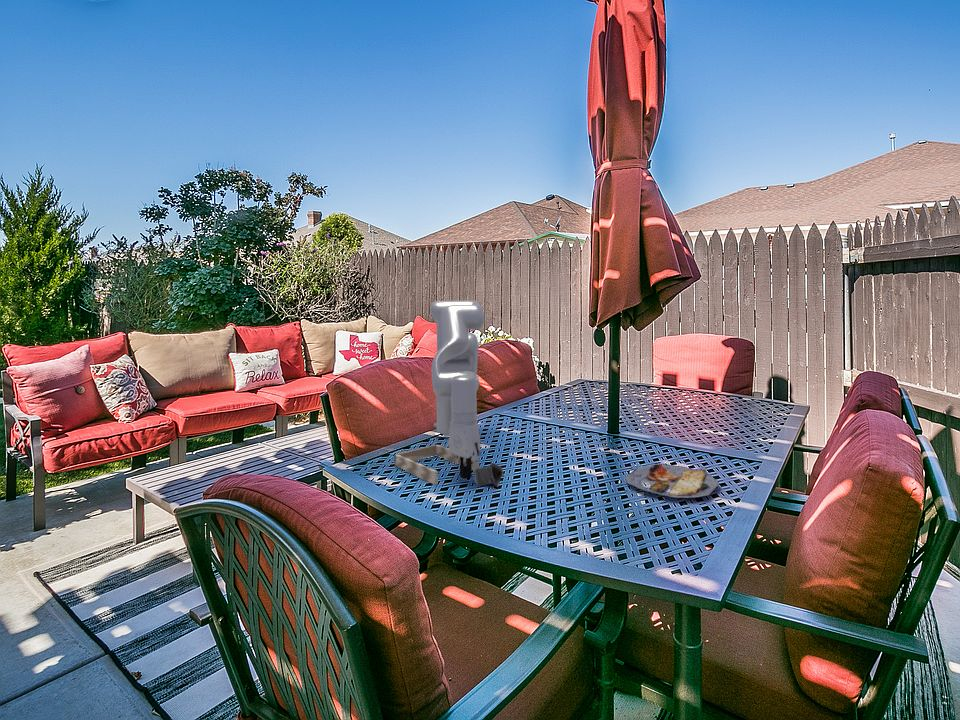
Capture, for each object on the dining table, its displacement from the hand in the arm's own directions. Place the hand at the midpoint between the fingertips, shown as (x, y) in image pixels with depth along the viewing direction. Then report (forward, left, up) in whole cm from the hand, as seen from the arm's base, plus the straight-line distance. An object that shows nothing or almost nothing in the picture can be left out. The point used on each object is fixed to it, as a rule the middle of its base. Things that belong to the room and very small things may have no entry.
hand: (465, 477), depth 152 cm
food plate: (+43, +41, -2) cm, 60 cm away
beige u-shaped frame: (-15, 0, -1) cm, 15 cm away
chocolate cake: (+4, +5, -2) cm, 7 cm away
